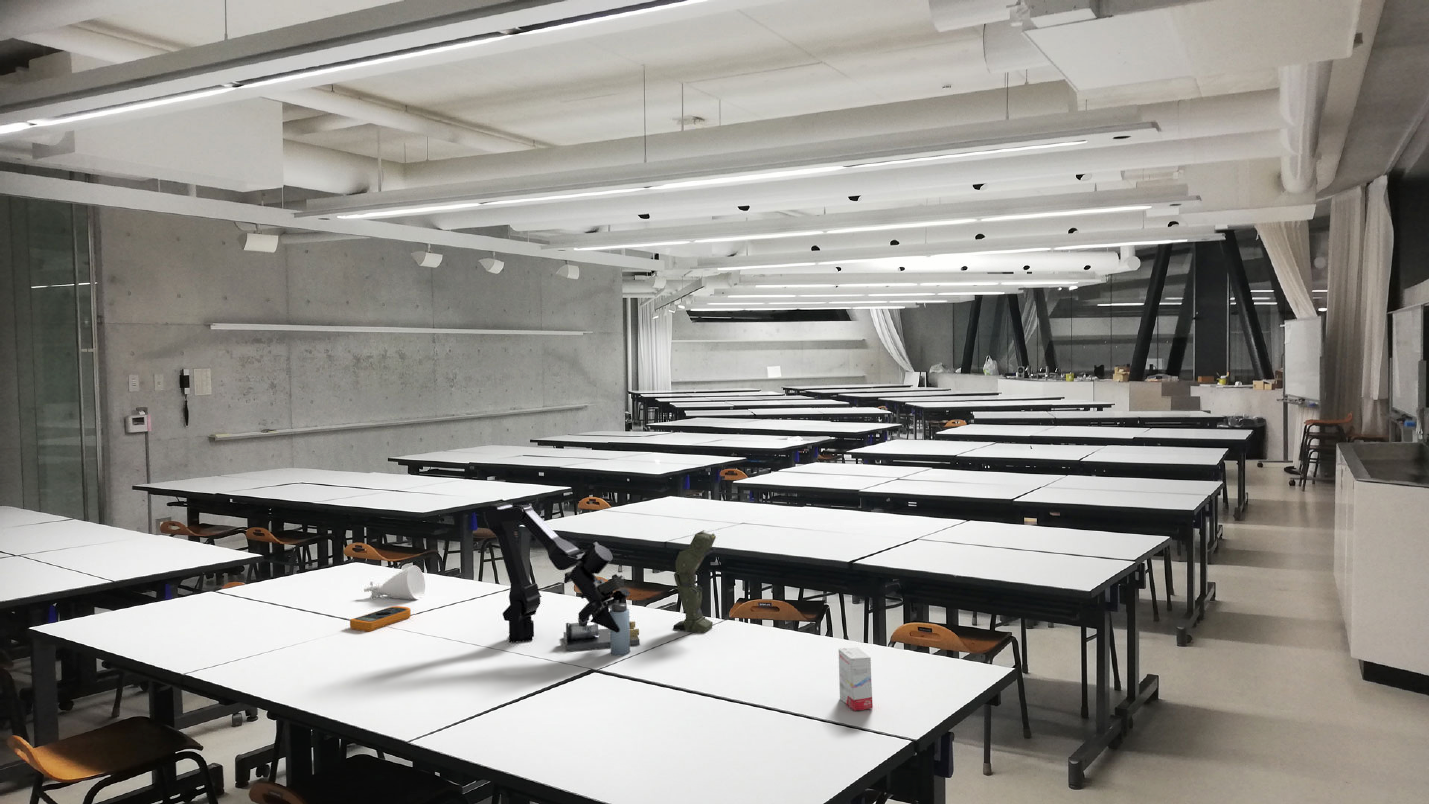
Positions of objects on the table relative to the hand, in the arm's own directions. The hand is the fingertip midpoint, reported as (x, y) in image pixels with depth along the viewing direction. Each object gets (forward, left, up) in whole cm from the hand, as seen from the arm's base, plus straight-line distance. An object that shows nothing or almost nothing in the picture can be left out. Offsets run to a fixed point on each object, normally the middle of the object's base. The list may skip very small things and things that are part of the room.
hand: (624, 628), depth 250 cm
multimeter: (-68, +50, -7) cm, 85 cm away
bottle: (-1, +1, -7) cm, 7 cm away
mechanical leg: (+23, +17, -7) cm, 29 cm away
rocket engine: (-67, +82, -7) cm, 106 cm away
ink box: (+46, -51, -7) cm, 69 cm away
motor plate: (-5, +13, -7) cm, 15 cm away
